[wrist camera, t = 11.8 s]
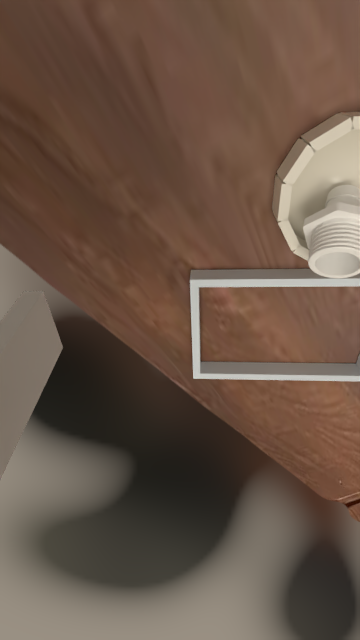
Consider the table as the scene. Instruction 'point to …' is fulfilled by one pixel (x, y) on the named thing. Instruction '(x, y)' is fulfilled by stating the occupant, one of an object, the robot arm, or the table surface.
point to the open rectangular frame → (264, 368)
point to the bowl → (315, 174)
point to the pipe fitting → (335, 234)
